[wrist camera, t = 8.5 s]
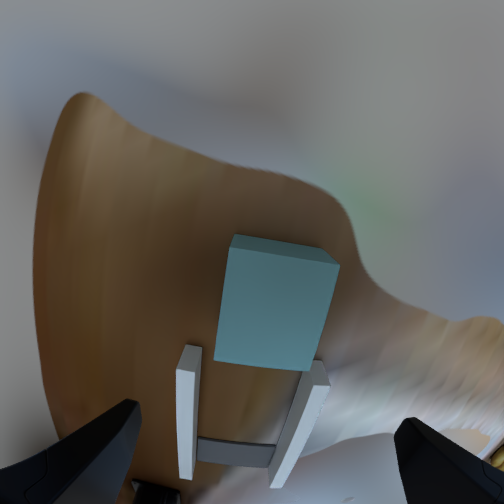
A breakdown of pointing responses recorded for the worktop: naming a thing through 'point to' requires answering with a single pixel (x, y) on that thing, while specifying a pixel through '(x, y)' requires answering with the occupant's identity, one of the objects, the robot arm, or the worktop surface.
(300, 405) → the channel
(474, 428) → the worktop surface
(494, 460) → the green grapes
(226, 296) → the teal block
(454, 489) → the robot arm
